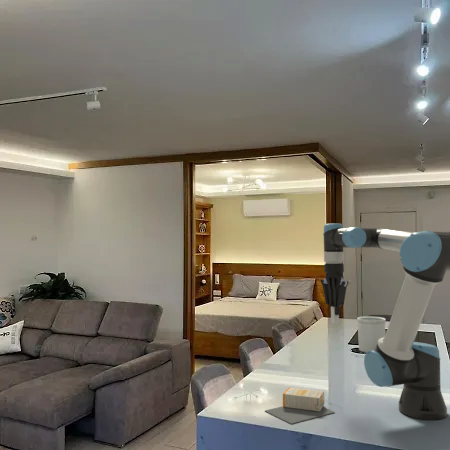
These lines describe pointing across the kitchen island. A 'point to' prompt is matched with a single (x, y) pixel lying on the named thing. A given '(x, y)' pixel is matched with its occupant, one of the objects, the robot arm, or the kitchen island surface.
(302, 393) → the supplement box
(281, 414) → the mat
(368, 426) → the kitchen island surface
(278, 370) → the kitchen island surface
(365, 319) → the utensil holder
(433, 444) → the kitchen island surface
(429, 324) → the kitchen island surface
